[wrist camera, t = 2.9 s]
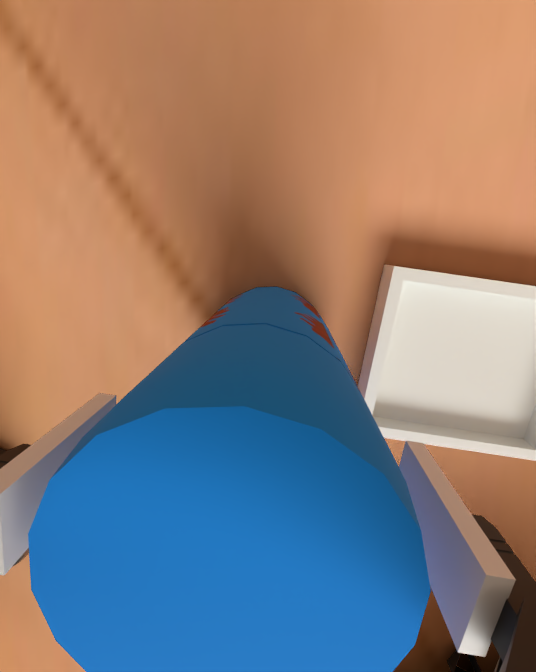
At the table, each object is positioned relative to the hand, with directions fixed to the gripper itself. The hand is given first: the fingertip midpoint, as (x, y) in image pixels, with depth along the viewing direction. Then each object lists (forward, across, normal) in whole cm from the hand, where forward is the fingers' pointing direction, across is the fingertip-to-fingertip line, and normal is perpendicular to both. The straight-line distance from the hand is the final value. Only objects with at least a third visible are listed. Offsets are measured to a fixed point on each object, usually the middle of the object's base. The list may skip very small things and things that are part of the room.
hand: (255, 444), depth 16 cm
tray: (+18, +17, +1) cm, 25 cm away
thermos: (+18, 0, 0) cm, 18 cm away
